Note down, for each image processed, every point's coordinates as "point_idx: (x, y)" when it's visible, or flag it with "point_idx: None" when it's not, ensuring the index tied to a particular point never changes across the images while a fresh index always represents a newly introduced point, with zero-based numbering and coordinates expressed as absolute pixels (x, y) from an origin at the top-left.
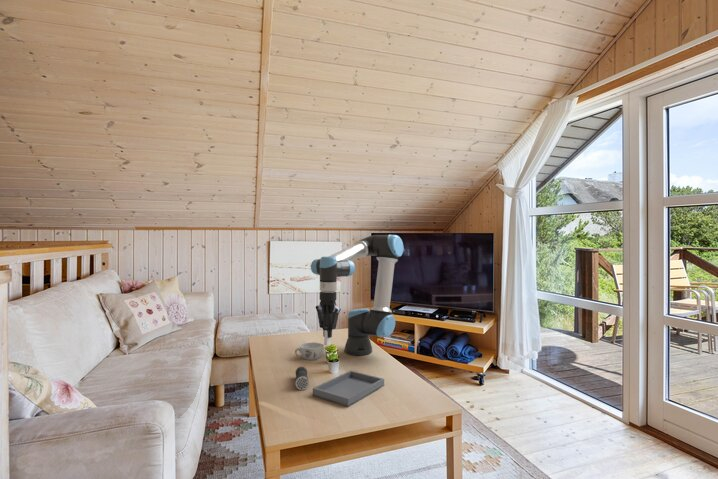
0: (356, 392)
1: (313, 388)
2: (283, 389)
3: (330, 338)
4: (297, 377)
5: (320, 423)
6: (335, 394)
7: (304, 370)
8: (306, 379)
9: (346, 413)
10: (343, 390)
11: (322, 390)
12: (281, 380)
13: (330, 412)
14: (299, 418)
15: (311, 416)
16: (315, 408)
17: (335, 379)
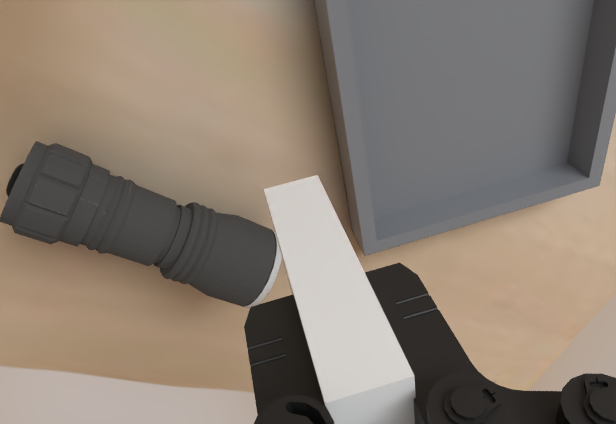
0: (538, 30)
1: (371, 253)
2: (177, 306)
3: (345, 239)
4: (223, 300)
5: (547, 303)
6: (516, 205)
7: (98, 207)
8: (277, 264)
9: (592, 204)
10: (453, 76)
11: (429, 231)
12: (20, 274)
13: (531, 245)
14: (467, 338)
15: (491, 306)
16: (460, 273)
17: (353, 64)
